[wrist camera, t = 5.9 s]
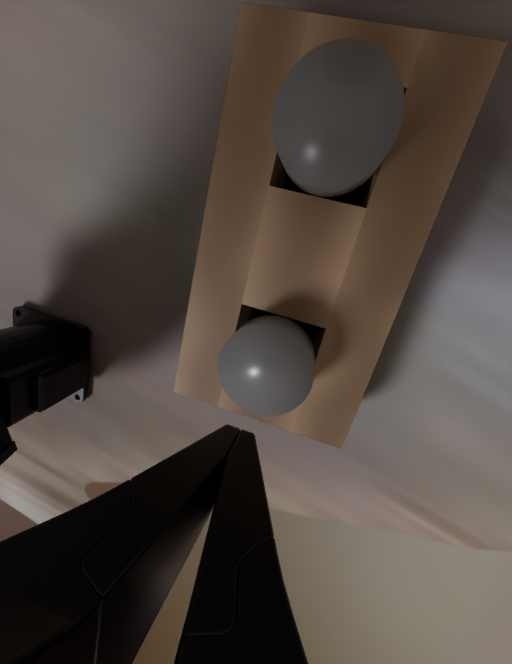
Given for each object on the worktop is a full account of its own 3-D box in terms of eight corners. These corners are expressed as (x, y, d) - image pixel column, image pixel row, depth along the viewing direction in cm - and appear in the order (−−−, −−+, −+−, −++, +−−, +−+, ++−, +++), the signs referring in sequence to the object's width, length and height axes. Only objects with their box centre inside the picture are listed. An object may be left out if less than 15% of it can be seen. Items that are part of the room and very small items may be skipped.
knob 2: (279, 198, 17) (258, 173, 11) (301, 108, 15) (290, 28, 10) (357, 216, 16) (375, 199, 10) (387, 124, 15) (427, 50, 9)
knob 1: (240, 357, 20) (209, 398, 14) (256, 293, 18) (228, 313, 13) (304, 377, 19) (297, 428, 14) (325, 313, 18) (327, 342, 12)
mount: (199, 365, 21) (173, 391, 17) (260, 62, 15) (240, 1, 12) (337, 410, 20) (341, 448, 16) (458, 97, 14) (507, 41, 10)
